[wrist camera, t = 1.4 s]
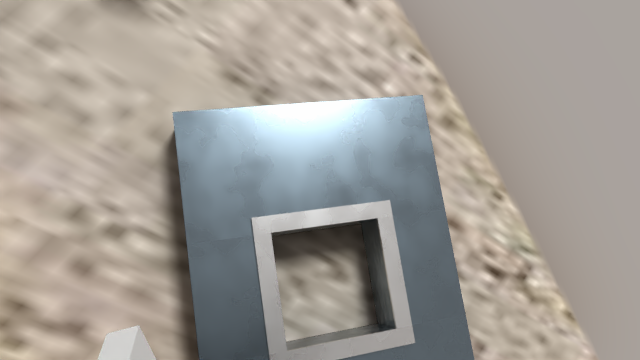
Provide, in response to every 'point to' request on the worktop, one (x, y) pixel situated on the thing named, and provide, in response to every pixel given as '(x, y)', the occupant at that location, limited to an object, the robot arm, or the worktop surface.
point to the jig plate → (318, 225)
